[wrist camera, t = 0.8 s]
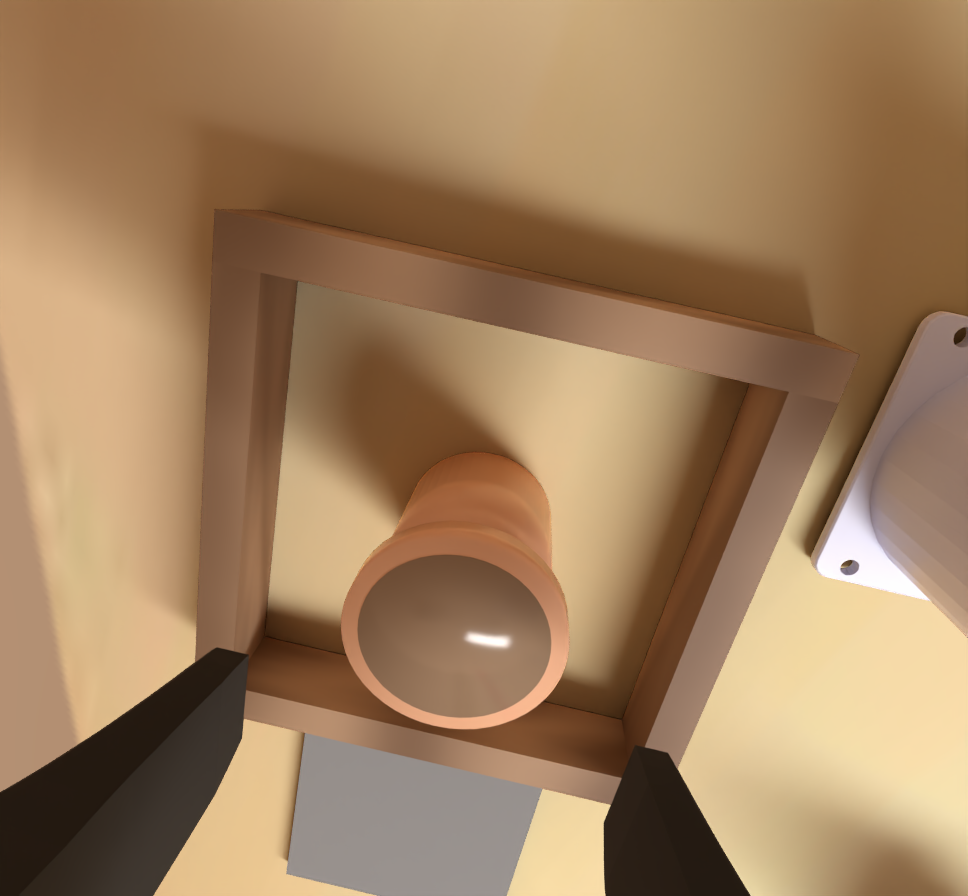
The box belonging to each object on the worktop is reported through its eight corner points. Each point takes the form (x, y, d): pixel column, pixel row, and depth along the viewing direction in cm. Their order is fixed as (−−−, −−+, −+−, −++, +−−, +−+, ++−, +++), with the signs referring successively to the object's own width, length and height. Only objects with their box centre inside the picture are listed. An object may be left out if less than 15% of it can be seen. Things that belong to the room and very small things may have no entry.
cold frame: (815, 335, 17) (859, 354, 14) (644, 752, 22) (656, 815, 20) (260, 209, 17) (214, 209, 14) (229, 655, 22) (193, 706, 20)
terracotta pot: (581, 462, 19) (597, 570, 13) (540, 604, 20) (538, 752, 15) (413, 424, 19) (355, 514, 13) (387, 568, 21) (328, 702, 15)
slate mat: (549, 758, 23) (549, 767, 22) (497, 913, 26) (497, 923, 26) (311, 702, 23) (308, 710, 22) (289, 864, 26) (286, 874, 26)
